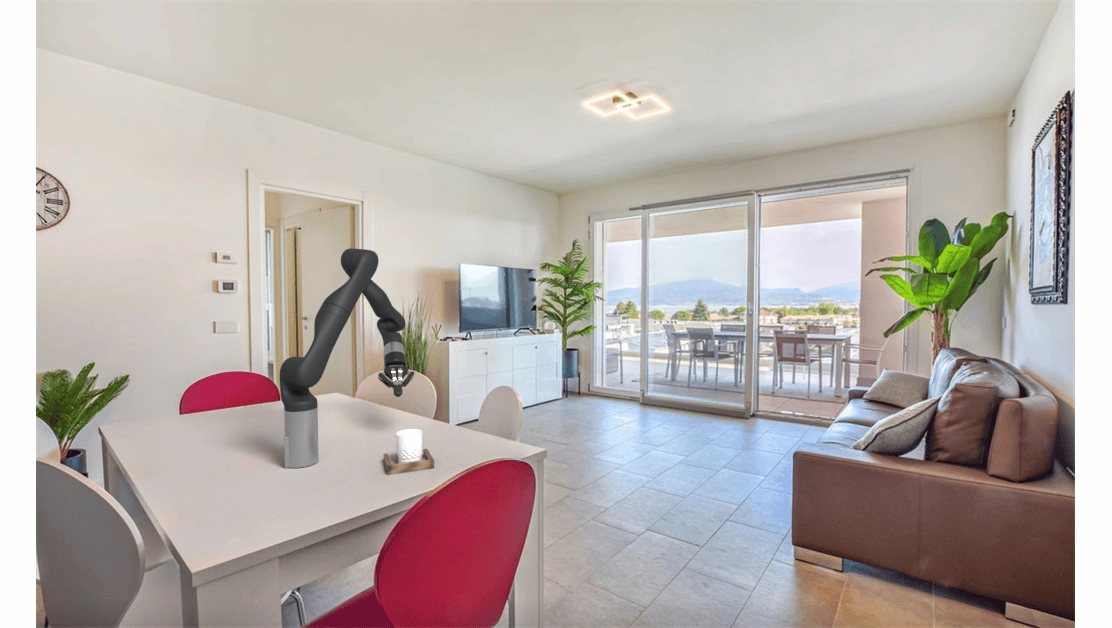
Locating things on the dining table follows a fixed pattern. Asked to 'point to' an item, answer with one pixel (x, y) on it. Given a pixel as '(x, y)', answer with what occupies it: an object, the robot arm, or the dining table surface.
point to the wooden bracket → (409, 464)
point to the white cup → (409, 445)
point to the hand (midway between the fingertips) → (398, 395)
